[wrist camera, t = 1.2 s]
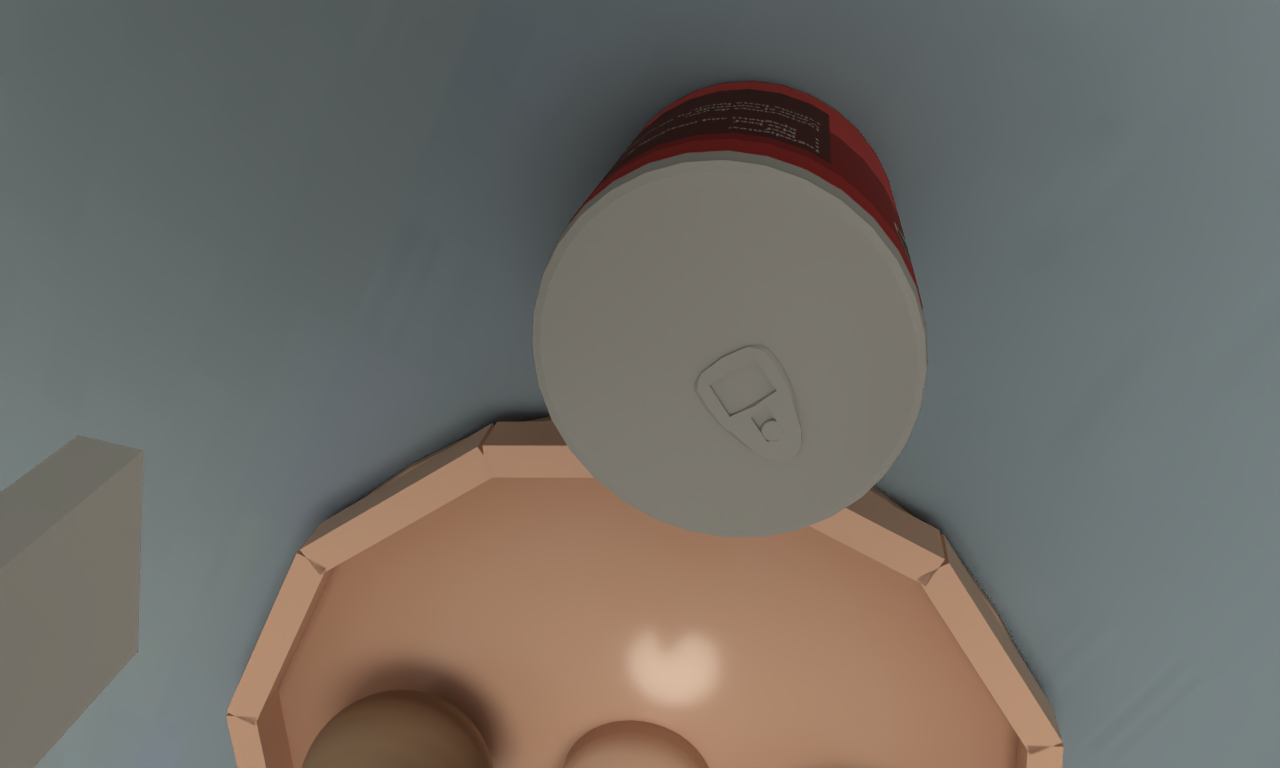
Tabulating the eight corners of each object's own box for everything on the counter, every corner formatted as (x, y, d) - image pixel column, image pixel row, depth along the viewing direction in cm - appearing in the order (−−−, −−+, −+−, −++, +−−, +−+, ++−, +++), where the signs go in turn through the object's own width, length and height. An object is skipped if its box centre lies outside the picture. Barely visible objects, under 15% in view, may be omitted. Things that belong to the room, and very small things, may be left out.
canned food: (766, 406, 35) (746, 609, 25) (556, 227, 34) (447, 364, 24) (959, 216, 33) (1023, 358, 22) (738, 13, 31) (700, 67, 21)
